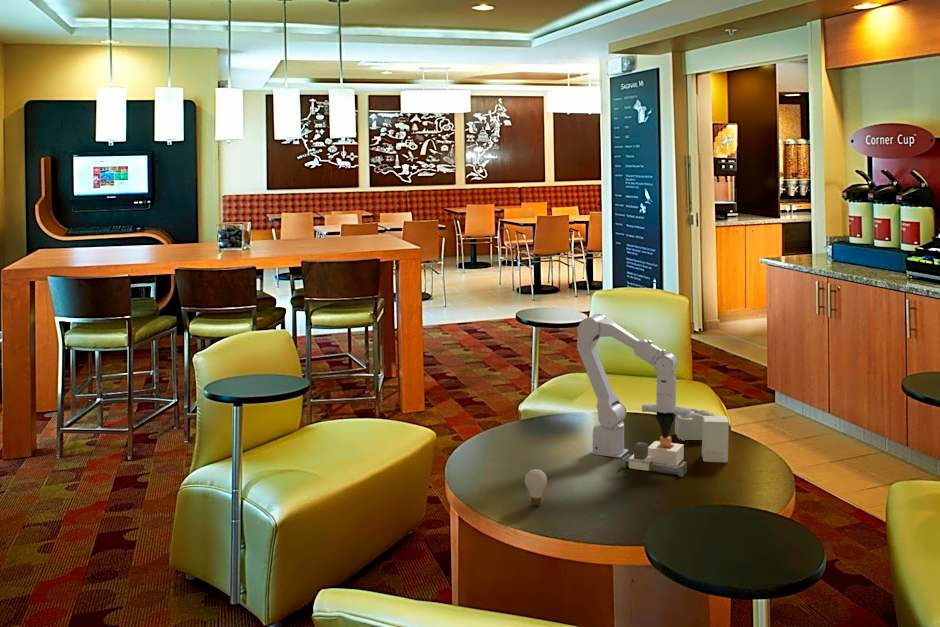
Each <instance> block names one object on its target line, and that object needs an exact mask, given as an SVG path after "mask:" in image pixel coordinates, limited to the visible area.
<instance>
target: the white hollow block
mask: <svg viewBox="0 0 940 627" xmlns="http://www.w3.org/2000/svg"><path fill="white" fill-rule="evenodd" d="M684 454H685V444H683V443H682V444H681V443H673V442H671V447H670V448H668V449H666V448H662V447H660V440H654V441H653V442H652V443H651V444H650V445H648V456H653V462H657V463H664V464H672V465H680V464H681V463H682V462H683V460H684Z"/></svg>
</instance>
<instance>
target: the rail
mask: <svg viewBox="0 0 940 627" xmlns="http://www.w3.org/2000/svg"><path fill="white" fill-rule="evenodd" d="M631 456H632V454H630V453H627V454H626V455H624V457H623V456H622V457H621V469H623V468H626V467H629V458H630V457H631ZM687 463H688V462H687V461H683V460H682V461H681V462H680V463H679V464H678V465H672V464H664V463H657V462H650V463H649V471H650V472H655V471H656V473H663V474H671V475H677V476H678V477H681V478H682V477H684V475H685V474H686V473H687V468H688V467H687V466H688V465H687ZM649 471H648V472H649Z"/></svg>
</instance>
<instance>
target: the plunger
mask: <svg viewBox="0 0 940 627" xmlns="http://www.w3.org/2000/svg"><path fill="white" fill-rule="evenodd" d="M659 441H660V447H662V448H666V449H668V448H670V447H671V443H672V436H670V435H669V437H668V438H664V437H663V436H662V435H661V436H659Z"/></svg>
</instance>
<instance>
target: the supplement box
mask: <svg viewBox="0 0 940 627" xmlns="http://www.w3.org/2000/svg"><path fill="white" fill-rule="evenodd" d="M729 423H730V422H729V420H728V416H726V415H716V416H703V420H702V441H701V457H702V460H703V462H704V463H705V462H707V463H710V462H711V463H729V428H730V427H729V425H730V424H729Z"/></svg>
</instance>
